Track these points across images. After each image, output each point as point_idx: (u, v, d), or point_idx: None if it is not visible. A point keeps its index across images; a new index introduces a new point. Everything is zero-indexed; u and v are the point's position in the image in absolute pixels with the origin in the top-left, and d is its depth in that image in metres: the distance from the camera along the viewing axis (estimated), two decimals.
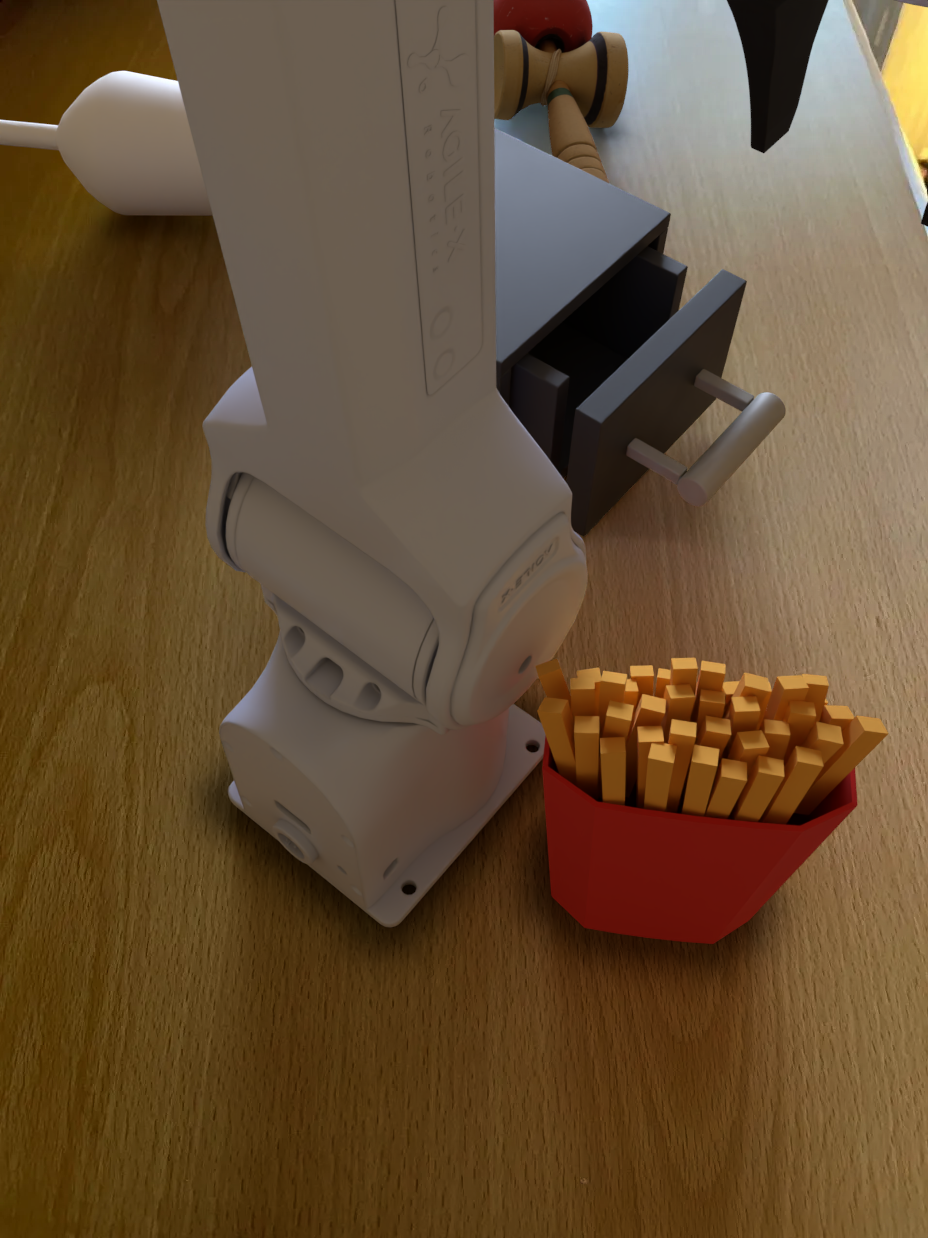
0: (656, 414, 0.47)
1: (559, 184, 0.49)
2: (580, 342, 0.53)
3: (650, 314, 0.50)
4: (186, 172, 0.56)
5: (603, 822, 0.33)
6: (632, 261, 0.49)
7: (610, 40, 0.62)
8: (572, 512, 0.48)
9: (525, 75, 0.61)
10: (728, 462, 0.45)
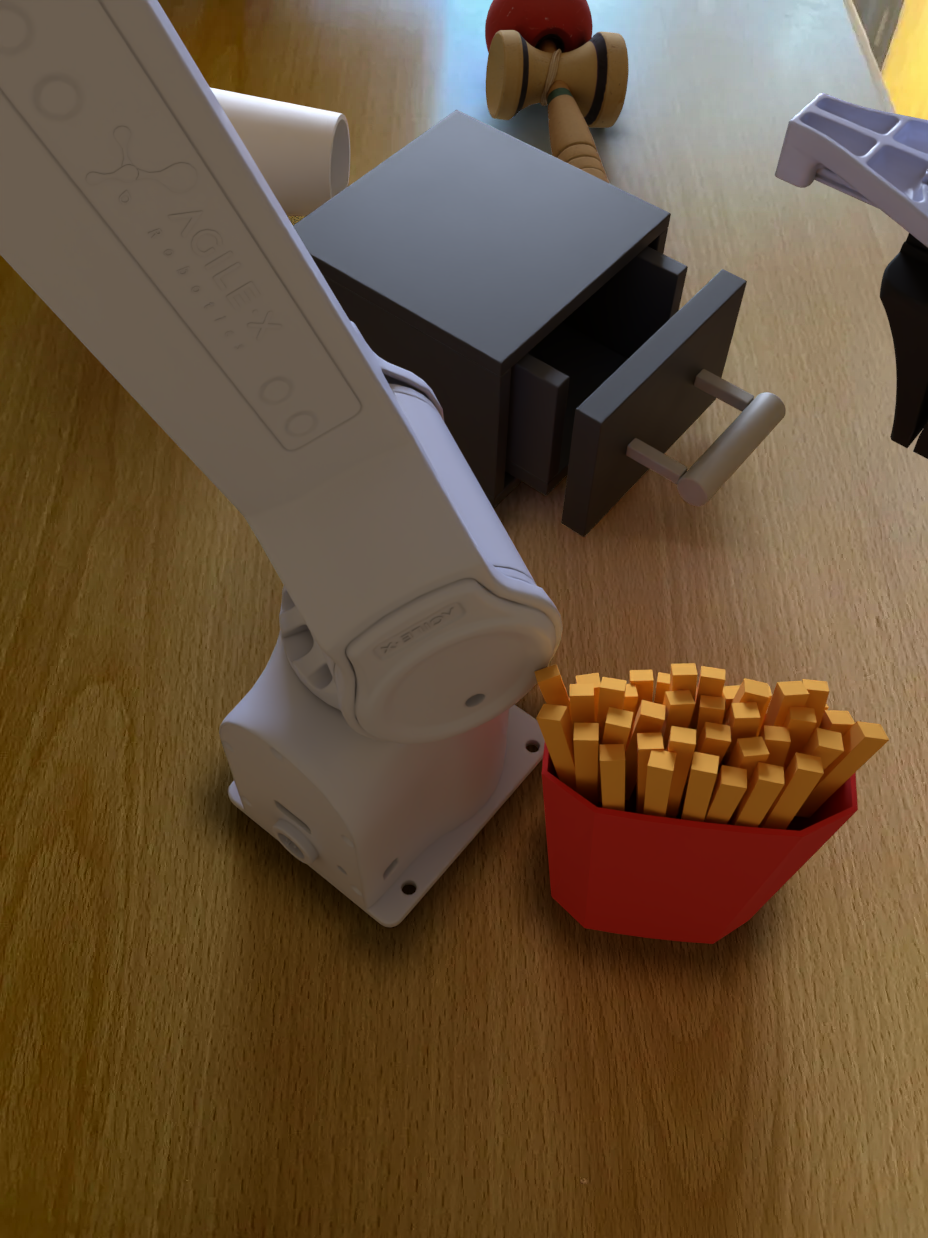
0: (656, 414, 0.47)
1: (559, 184, 0.49)
2: (580, 342, 0.53)
3: (650, 314, 0.50)
4: None
5: (603, 827, 0.33)
6: (632, 261, 0.49)
7: (610, 40, 0.62)
8: (572, 512, 0.48)
9: (525, 75, 0.61)
10: (728, 462, 0.45)
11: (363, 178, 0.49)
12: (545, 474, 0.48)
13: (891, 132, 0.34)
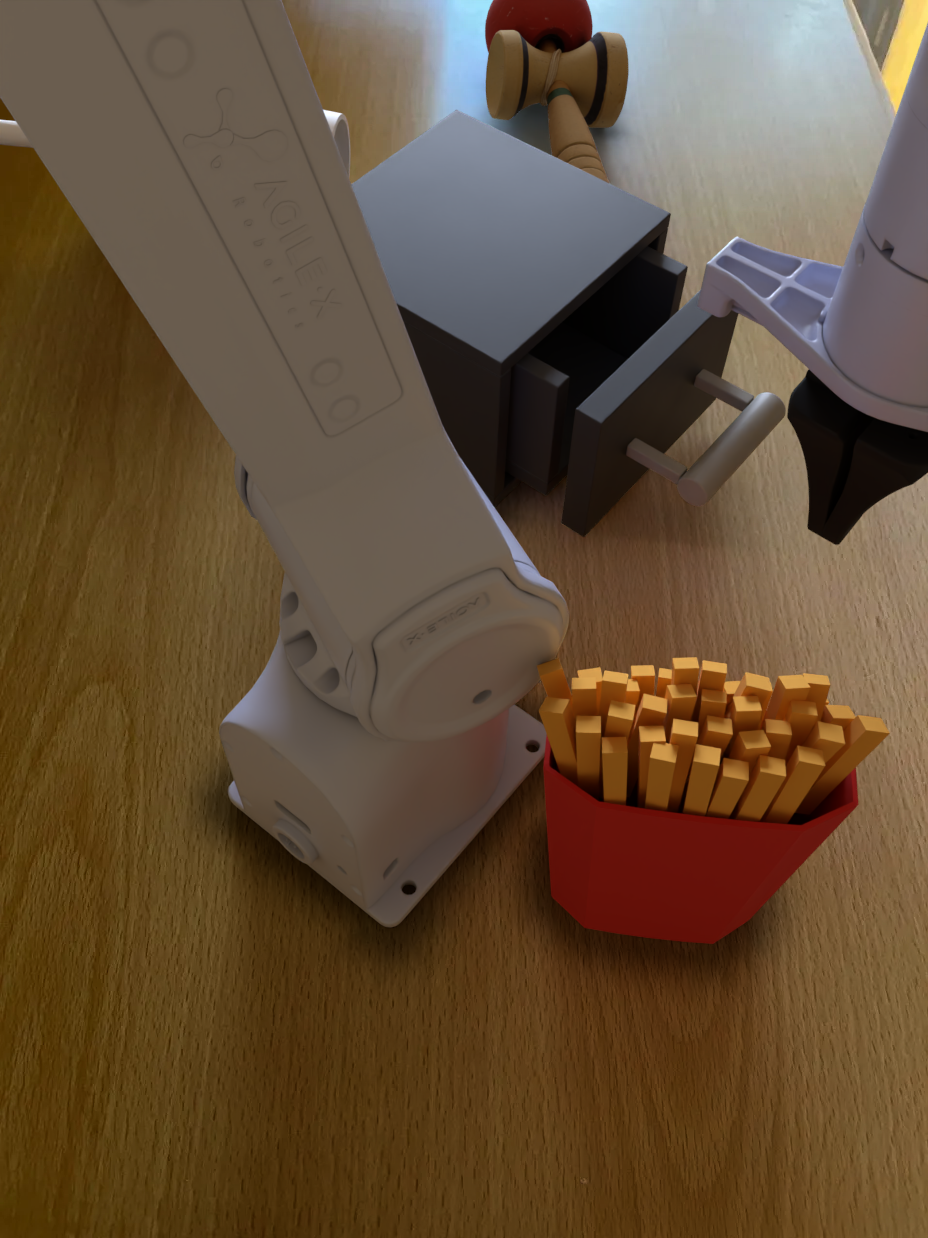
0: (656, 414, 0.47)
1: (559, 184, 0.49)
2: (580, 342, 0.53)
3: (650, 314, 0.50)
4: None
5: (604, 822, 0.33)
6: (632, 261, 0.49)
7: (610, 40, 0.62)
8: (572, 512, 0.48)
9: (525, 75, 0.61)
10: (728, 462, 0.45)
11: (363, 178, 0.49)
12: (545, 474, 0.48)
13: (794, 275, 0.40)
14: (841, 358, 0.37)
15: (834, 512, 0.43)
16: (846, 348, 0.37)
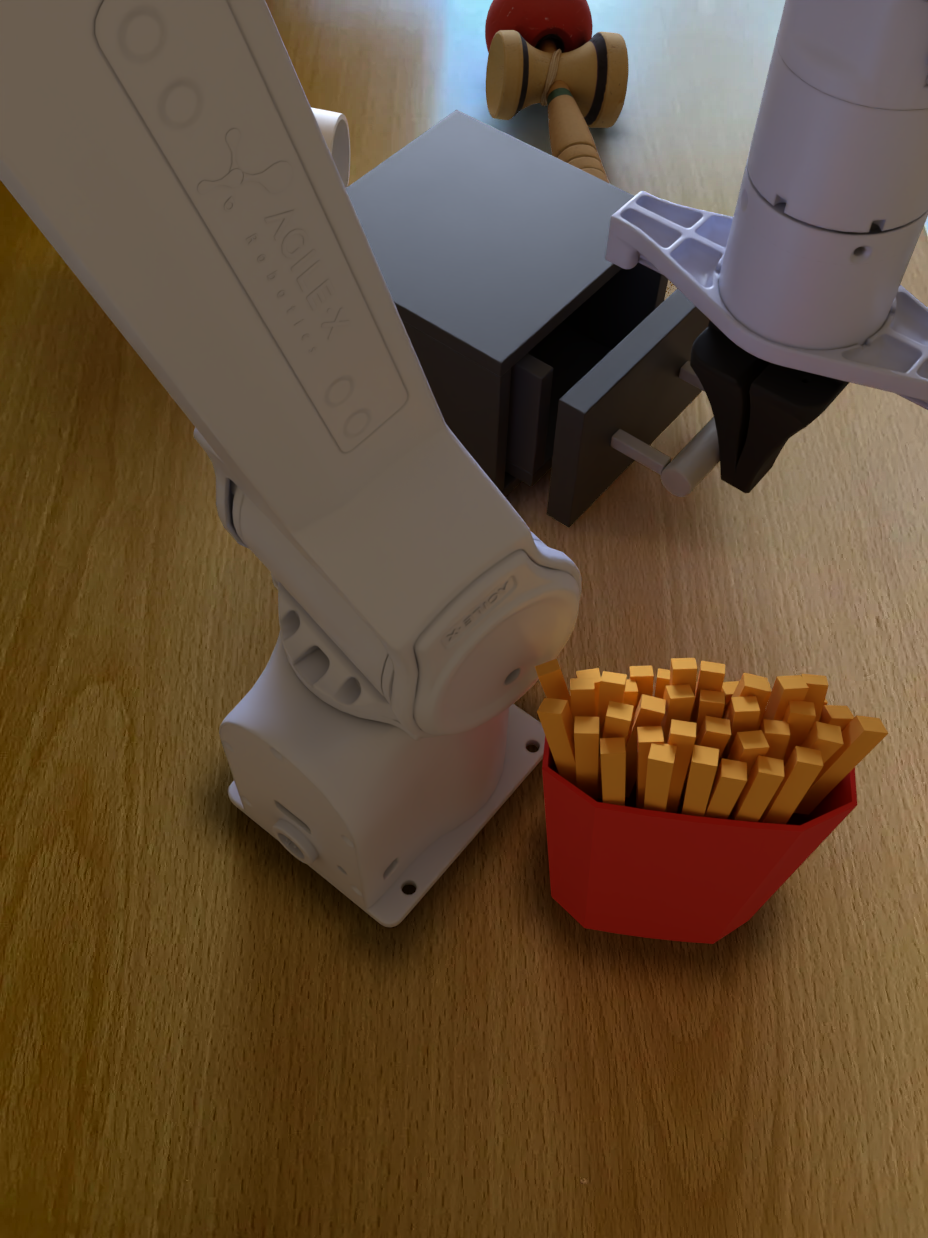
0: (640, 406, 0.47)
1: (559, 184, 0.49)
2: (566, 334, 0.53)
3: (635, 306, 0.50)
4: None
5: (603, 822, 0.33)
6: None
7: (610, 40, 0.62)
8: (557, 503, 0.48)
9: (525, 75, 0.61)
10: (711, 452, 0.46)
11: (363, 178, 0.49)
12: (531, 465, 0.48)
13: (694, 226, 0.41)
14: (733, 303, 0.38)
15: (741, 460, 0.45)
16: (737, 293, 0.38)
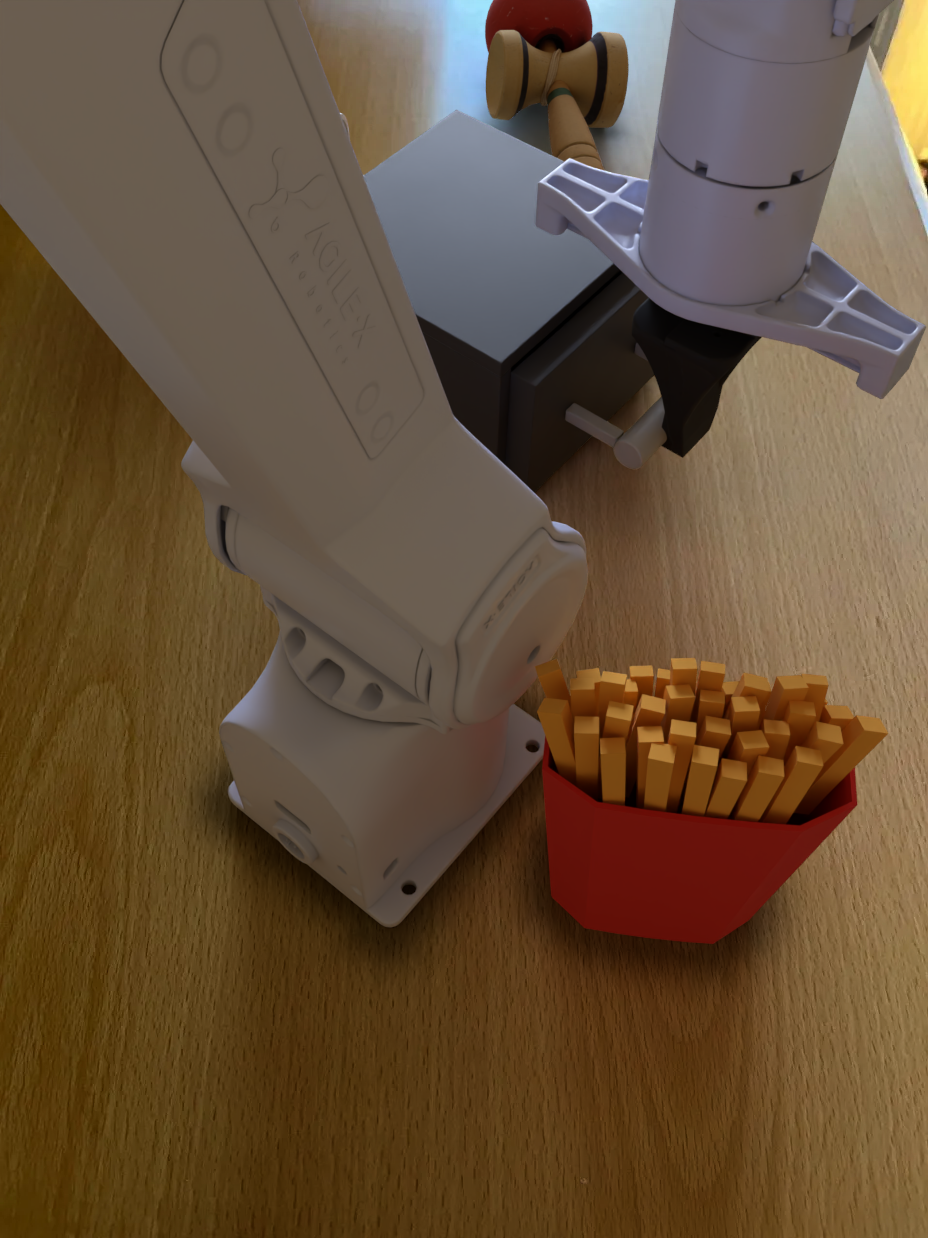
0: (595, 380, 0.48)
1: None
2: None
3: None
4: None
5: (603, 822, 0.33)
6: None
7: (610, 40, 0.62)
8: None
9: (525, 75, 0.61)
10: None
11: None
12: None
13: (619, 191, 0.42)
14: (651, 262, 0.40)
15: (665, 418, 0.46)
16: (653, 252, 0.39)
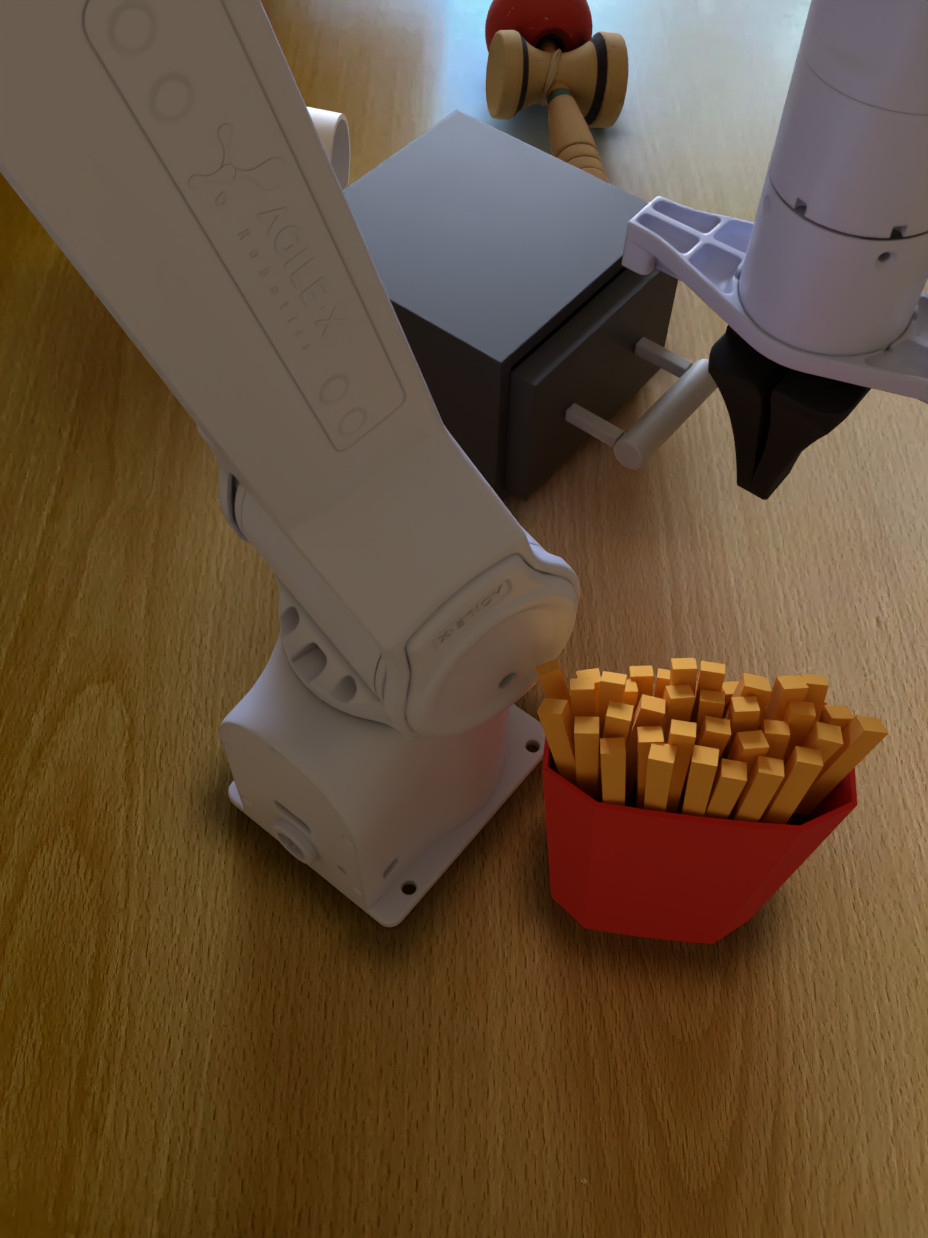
0: (595, 380, 0.48)
1: (559, 184, 0.49)
2: None
3: None
4: None
5: (603, 822, 0.33)
6: None
7: (610, 40, 0.62)
8: (513, 476, 0.49)
9: (525, 75, 0.61)
10: (663, 425, 0.47)
11: (363, 178, 0.49)
12: None
13: (712, 231, 0.41)
14: (754, 309, 0.38)
15: (759, 466, 0.44)
16: (758, 299, 0.38)
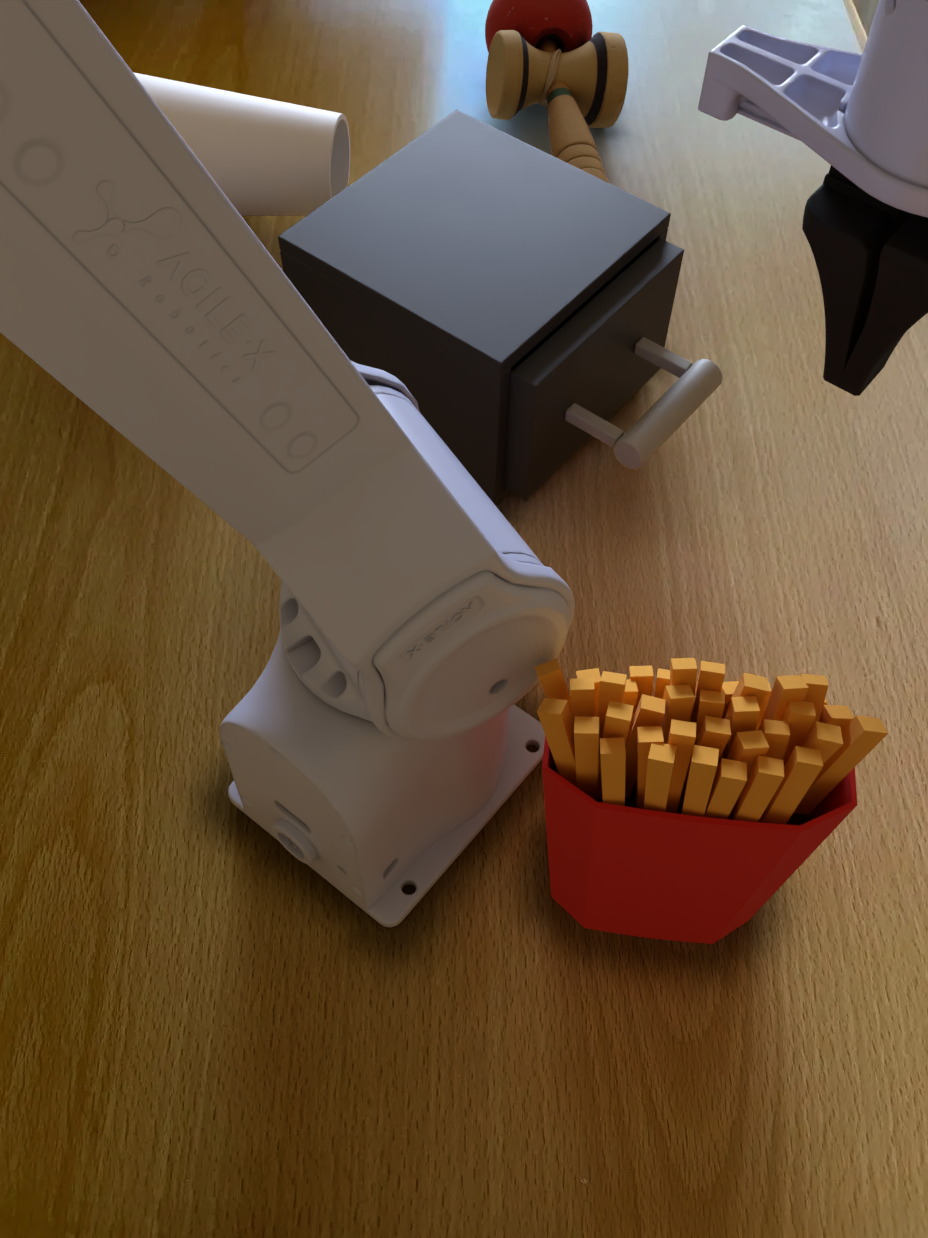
0: (595, 380, 0.48)
1: (559, 184, 0.49)
2: None
3: None
4: None
5: (603, 822, 0.33)
6: None
7: (610, 40, 0.62)
8: (513, 476, 0.49)
9: (525, 75, 0.61)
10: (663, 425, 0.47)
11: (363, 178, 0.49)
12: None
13: (809, 62, 0.34)
14: (867, 141, 0.32)
15: (855, 352, 0.38)
16: (873, 127, 0.31)
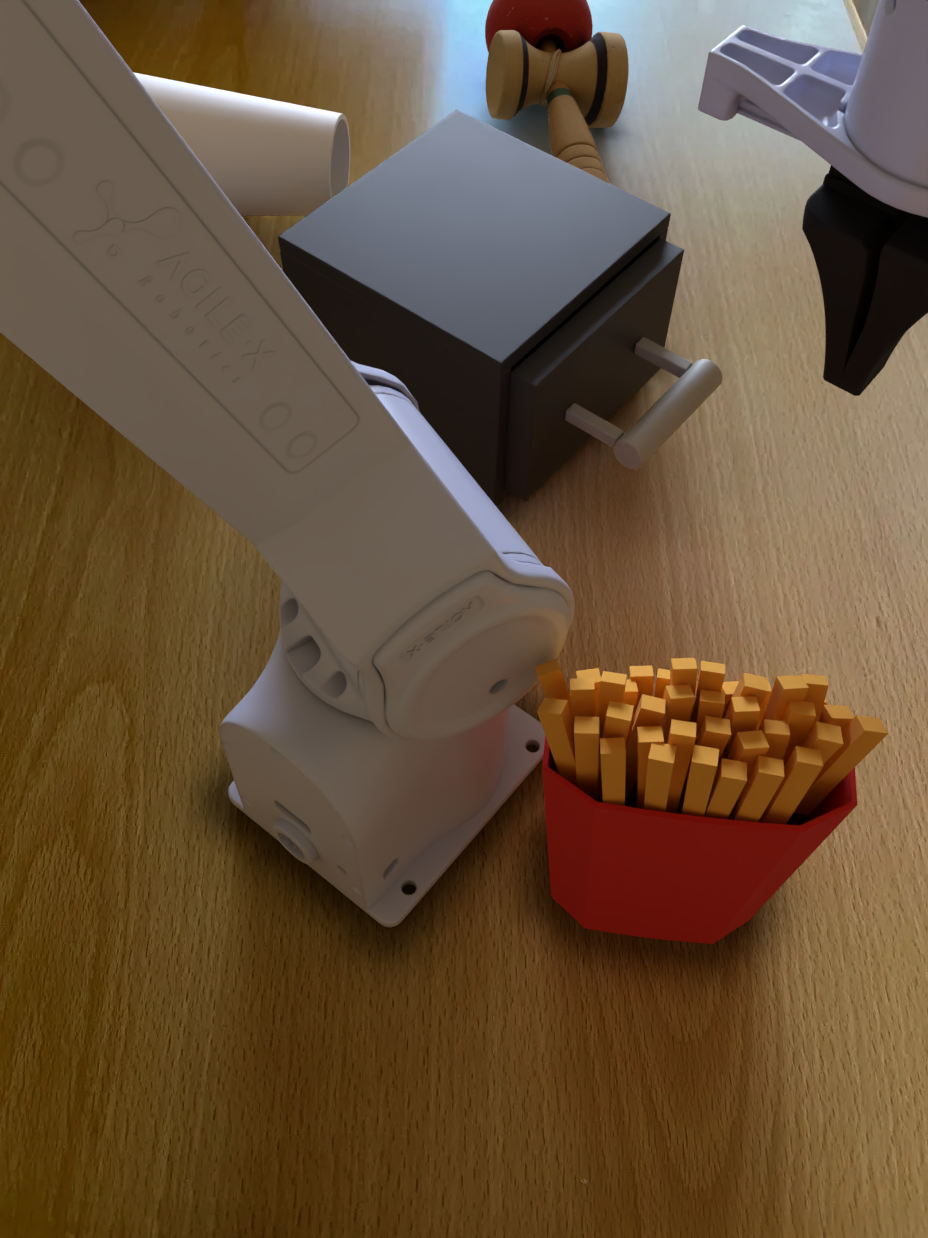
0: (595, 380, 0.48)
1: (559, 184, 0.49)
2: None
3: None
4: None
5: (603, 822, 0.33)
6: None
7: (610, 40, 0.62)
8: (513, 476, 0.49)
9: (525, 75, 0.61)
10: (663, 425, 0.47)
11: (363, 178, 0.49)
12: None
13: (809, 62, 0.34)
14: (867, 141, 0.32)
15: (855, 352, 0.38)
16: (873, 127, 0.31)
